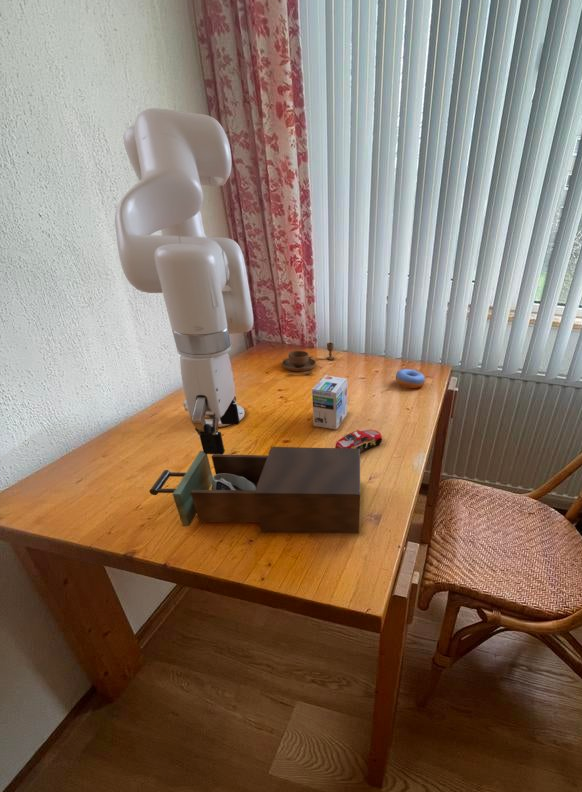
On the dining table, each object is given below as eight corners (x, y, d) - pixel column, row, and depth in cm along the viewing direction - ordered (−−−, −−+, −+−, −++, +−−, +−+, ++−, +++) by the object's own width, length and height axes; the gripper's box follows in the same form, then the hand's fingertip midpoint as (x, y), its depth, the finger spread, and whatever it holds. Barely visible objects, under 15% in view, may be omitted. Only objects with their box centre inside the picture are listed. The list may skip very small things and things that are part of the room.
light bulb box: (336, 430, 102) (336, 392, 96) (312, 426, 103) (310, 389, 97) (348, 413, 111) (348, 377, 105) (325, 409, 112) (324, 374, 106)
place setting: (280, 359, 144) (278, 343, 141) (333, 357, 149) (332, 341, 146) (284, 376, 130) (283, 359, 127) (342, 373, 136) (342, 357, 132)
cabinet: (260, 532, 70) (254, 492, 64) (275, 483, 82) (271, 446, 77) (359, 533, 71) (360, 494, 66) (359, 484, 83) (360, 448, 78)
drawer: (147, 526, 68) (134, 493, 64) (177, 480, 79) (168, 449, 75) (277, 526, 70) (272, 495, 66) (288, 481, 81) (285, 452, 77)
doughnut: (426, 381, 134) (427, 369, 132) (421, 392, 126) (422, 379, 124) (398, 377, 136) (399, 364, 133) (392, 388, 128) (393, 374, 125)
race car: (372, 434, 102) (372, 421, 99) (386, 443, 98) (387, 429, 96) (331, 450, 94) (331, 436, 92) (345, 460, 91) (345, 445, 88)
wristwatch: (205, 497, 74) (200, 476, 71) (230, 480, 78) (226, 460, 76) (241, 513, 70) (237, 492, 68) (265, 494, 75) (262, 474, 72)
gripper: (196, 322, 64) (215, 413, 74) (151, 359, 50) (182, 466, 60) (242, 324, 64) (255, 414, 74) (210, 362, 50) (231, 467, 60)
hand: (223, 437), depth 67 cm, fingers open, 9 cm apart
